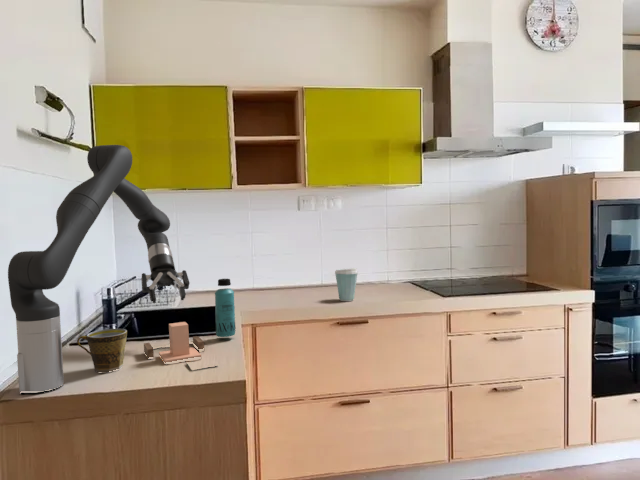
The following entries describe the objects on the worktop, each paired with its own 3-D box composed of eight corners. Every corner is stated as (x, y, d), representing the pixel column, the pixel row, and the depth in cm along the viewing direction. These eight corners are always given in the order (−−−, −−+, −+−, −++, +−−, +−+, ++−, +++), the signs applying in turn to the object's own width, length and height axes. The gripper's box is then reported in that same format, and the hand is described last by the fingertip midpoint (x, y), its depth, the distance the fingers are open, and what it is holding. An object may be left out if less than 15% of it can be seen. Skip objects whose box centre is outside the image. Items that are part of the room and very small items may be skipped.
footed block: (165, 365, 136) (163, 329, 136) (159, 357, 145) (157, 323, 145) (201, 360, 141) (199, 325, 140) (193, 351, 149) (192, 319, 149)
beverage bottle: (212, 339, 163) (209, 279, 162) (229, 335, 168) (226, 276, 167) (223, 342, 159) (220, 280, 158) (240, 338, 163) (238, 278, 162)
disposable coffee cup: (331, 301, 229) (330, 268, 228) (343, 297, 238) (342, 266, 237) (350, 303, 223) (349, 269, 222) (362, 299, 231) (362, 267, 231)
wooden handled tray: (147, 359, 142) (147, 349, 142) (144, 353, 149) (143, 343, 149) (204, 351, 149) (204, 341, 149) (198, 345, 156) (197, 336, 156)
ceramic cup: (133, 363, 139) (132, 327, 138) (120, 374, 129) (118, 336, 128) (87, 365, 139) (85, 329, 138) (70, 376, 129) (68, 338, 128)
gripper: (138, 254, 157) (145, 294, 147) (184, 251, 163) (193, 290, 154) (137, 269, 162) (143, 309, 152) (181, 266, 168) (190, 304, 159)
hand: (168, 300), depth 153 cm, fingers open, 8 cm apart
